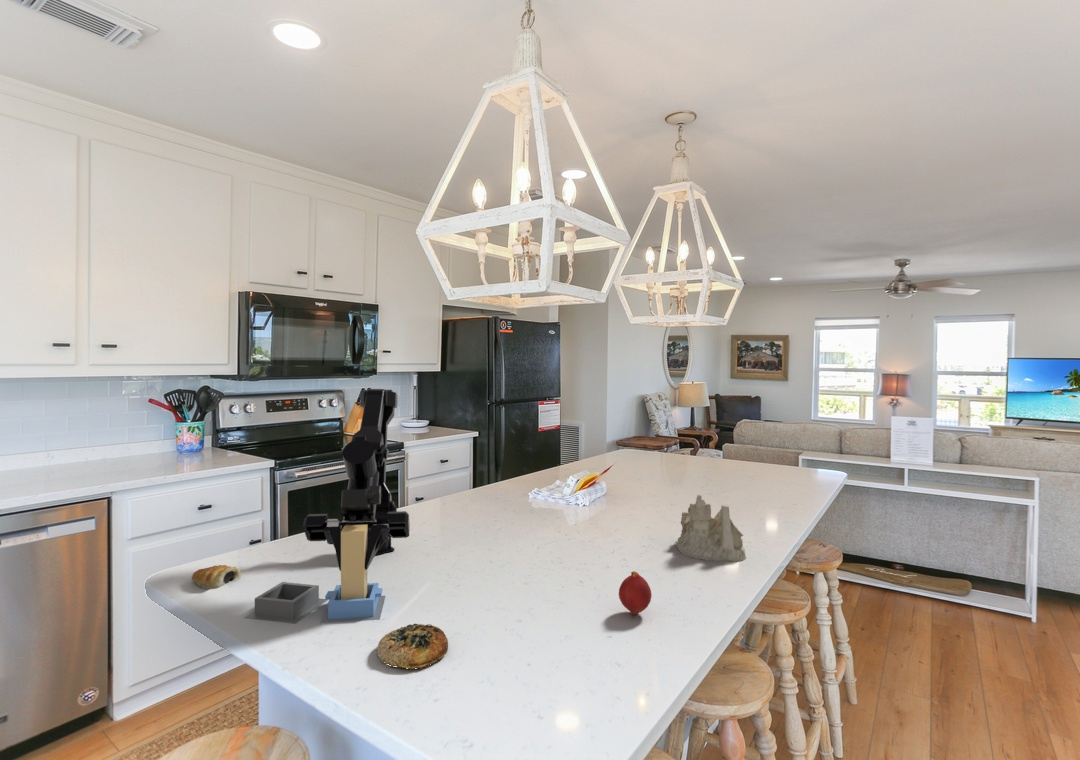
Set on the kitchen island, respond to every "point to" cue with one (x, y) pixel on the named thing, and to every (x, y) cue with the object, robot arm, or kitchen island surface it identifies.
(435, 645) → the bread roll
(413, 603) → the kitchen island surface
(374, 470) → the robot arm
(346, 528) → the tall tan pillar
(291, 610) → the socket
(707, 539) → the grey sandcastle model
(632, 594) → the onion
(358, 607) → the blue bezel socket
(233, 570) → the pastry
